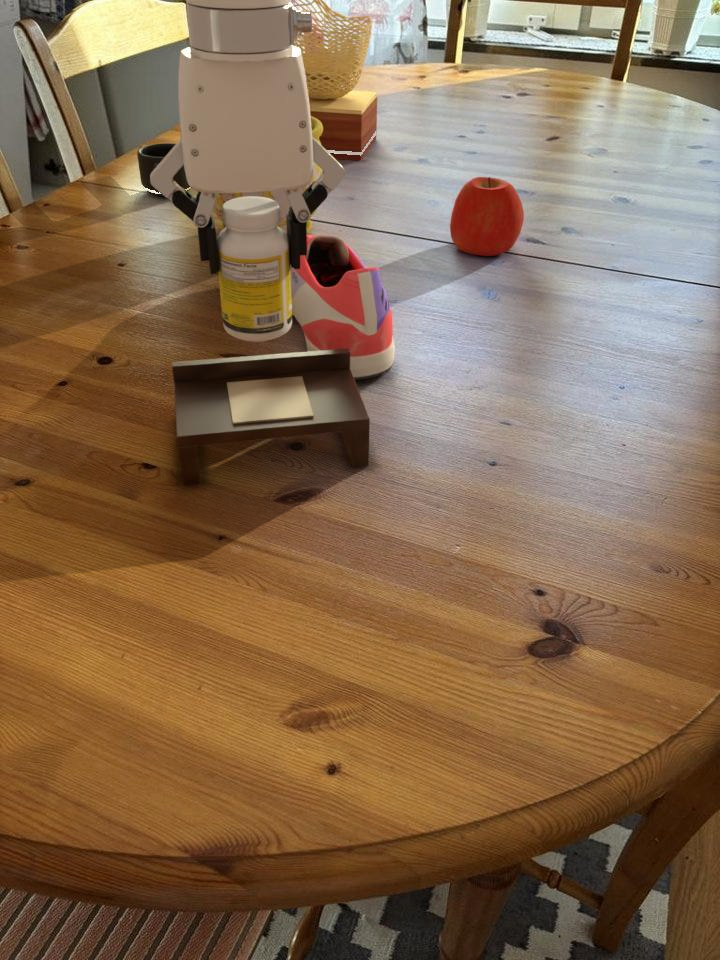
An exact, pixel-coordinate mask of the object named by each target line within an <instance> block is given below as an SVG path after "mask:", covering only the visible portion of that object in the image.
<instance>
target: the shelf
mask: <svg viewBox="0 0 720 960" xmlns="http://www.w3.org/2000/svg"><path fill="white" fill-rule="evenodd" d="M171 370H172V371H171V372H172V379H173V391H174V410H175V431H176V442H177V451H178V457H179V466H180V472H181V482H182V485H183V486H185V485H195V484H200V483H201V479H200V468H199V467H200V466H199V455H198V446H207V445H216V444H217V445H218V444H219V445H220V444H227V443H238V442H250V441H260V440H268V439H269V440H270V439H271V440H272V439H281V438H291V437H293V438H294V437H302V436H303V437H304V436H311V435H314V436H315V435H323V434H325V435H326V434H334V433H340V434H341V437H342V440H343V442H344V445H345V446H344V447H345V449H346V451H347V455H348V458H349V461H350V464H351V467H352V468H363V467H369V464H370V463H369V460H370V457H369V456H370V426H371V425H370V423H371V422H370V421H371V419H370V416H369V414H368V411H367V409H366V405H365V403H364V400H363V399H362V396H361V395H362V394H361V393H360V391H359V388H358V385H357V383H356V380H354V377H353V375H352V372H351V370H350V351H349V349H348V348H347V349H334V350H321V351H297V352H296V351H295V352H284V353H271V354H260V355H259V354H258V355H257V354H256V355H245V356H234V357H221V358H209V359H208V358H207V359H196V360H195V359H194V360H183V361H181V360H180V361H172V362H171Z"/></svg>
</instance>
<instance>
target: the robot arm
mask: <svg viewBox="0 0 720 960" xmlns="http://www.w3.org/2000/svg"><path fill="white" fill-rule="evenodd" d="M291 3H292V0H185V5H186V16H187V17H186V18H187V26H188V27H187V28H188V38H189V47H185V48H182V49H181V50H180V54H179V62H178V63H179V64H178V87H177V88H178V112H179V113H178V114H179V115H178V116H179V133H180V139H179V140H177V142H176V143H175V144H176V145H175V146H174V147H173V148H172V149H171V150H170V152H169V153H168V154H167V155H166V156H165V157H164V159H163V160H162V161H161V162H160V163H159V164H158V166H157V167H156V168H155V169H154V170H153V171H152V173H151V174H150V183H151V185H152V186H153V187H154V188H155V189H157V190H158V191H159V192H160V193H161V194H162V195H164V196H165V197H164V198H165V199H167V200H169V201H170V202H171V203H172V204H173V205H174V206H175V208H176V209H178V210H179V211H180V212H181V213H182V214H184V215H185V216H186V217H187V218H188V219H189V220H191V221H192V222H193V224H194V226H196V227H197V236H198V245H199V246H198V247H199V257H200V261H201V262H208V265H209V271H210V275H217V274H218V272H219V264H218V252H217V229H216V222H215V218H214V217H213V215H212V213H213V211H214V210H213V207H214V204H215V201H216V199H217V196H218V193H237V192H260V191H281V190H284V192H285V194H286V196H287V199H288V201H289V203H290V205H291V207H290V208H289V211H288V214H286V223H287V236H288V238H289V243H290V264H291V267H292V268H294V269H300V255H307V235H308V234H307V233H308V232H307V228H306V222H307V221H308V220H309V219H310V220H311V218H312V217H311V214H312V213H313V212H314V211H315V210H316V211H317V209H318V208H319V207H320V206H321V205H322V204H323V203H324V202H325V200H327V198H328V195H329V194H330V193H331V192H333V191H334V190H335V188H336V187H337V186H338V185H339V184H340V183H341V182H342V181H343V180H344V179H345V177H346V170H345V168H344V166H343V165H342V164H341V163H340V162H339V160H338V159H335V158H334V157H333V156H332V155H331V154H330V153H329V152H328V151H327V150H326V149H325V148H324V147H323V146H322V145H321V144H320V143H319V142H318V141H317V140H316V139H315V138H314V137H313V136H312V129H311V116H310V105H309V97H308V90H307V82H306V74H305V69H304V64H303V59H302V54H301V50H300V49H299V48H300V47H299V48H297V47H294V46H293V45H294V43H295V42H294V38H297V35H301V34H304V33H310V34H312V33H311V31H312V29H313V28H312V26H313V25H312V23H313V19H312V17H313V16H312V17H311V15H312V13H308V12H303V13H301V11H302V10H300V11H299V10H297V9H296V8H295V7H293V5H294V4H293V3H292V4H293V5H292V4H291ZM296 10H297V11H296ZM313 161H314V162H315V163H316V164H317V165H318V166H319V167H320V168H321V169H322V174H321V175H320V176H319V178H318V179H317V180H316V181H314V182H313V183H312V184H311V185H310V186H309V187H308V188H307V189H306V190H305V191H304V193H303V194H302V193H301V191H300V188H301V187H304V186H306V185H307V184H309V183H310V181H311V180H312V176H313ZM183 165H184V169H185V173H186V179H187V182H188V184H189V186H190V187H191V189H193V190H194V191H196V195H195V196H194V195H193V194H191V193H190V192H189V191H186V190H185V189H184V188H183V187H180V186H179V185H178V184H177V183H176V182H175V181H174V180H173V177H174V175H175V174H176V173H177V172H178V171H179V170H180V168H181V167H182V166H183ZM316 211H315V212H316ZM310 217H311V218H310Z"/></svg>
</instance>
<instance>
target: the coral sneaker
mask: <svg viewBox="0 0 720 960" xmlns="http://www.w3.org/2000/svg"><path fill="white" fill-rule="evenodd" d="M285 233H286V234H287V232H285ZM360 257H361V256H359V254H357V252H356V251H355V250H353V248H351V247H350V246H349V244H347V243H346V242H344V240H343V239H342V238H340V237H338V236H335V235H314V234H307V255H300V269H294V268H292V267H291V264H290V270H291V298H292V317H294V318H295V320H296V321H297V322H298V323H299V325H300V327H301V329H302V331H303V333H304V338H305V344H306V352H308V351H321V350H334V349H347V348H348V349H349V351H350V370H351V372H352V375H353V377H354V380H355V381H356V380H365V379H366V380H367V379H371V378H375V377H378V376H381V375H384V374H385V373H386V374H387V373H388V372H390V370H391V368H392V367H393V366H394V363H395V356H396V349H395V342H394V341H395V340H394V337H393V335H394V328H393V327H394V326H393V324H394V323H393V313H392V312H393V311H392V307H391V304H390V301H389V297H388V294H387V291H386V289H385V287H384V285H383V283H382V278H381V271H380V269H379V268H378V267H376V266H373V267H368V266H367V265H366V263H365V262H364V261H363V260H362V259H361V258H360Z"/></svg>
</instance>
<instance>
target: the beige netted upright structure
mask: <svg viewBox="0 0 720 960" xmlns="http://www.w3.org/2000/svg"><path fill="white" fill-rule="evenodd" d="M298 1H299V2H300V3H298V2H297V1H296V0H291V4H292V5H293V7H294V8H295V9H296V11H301V13H311V17H312V21H314V23H313V22H312V31H311V33H302V34H301V35H297V38H294V45H293V47H297V48H299V49H300V50H301V54H302V59H303V64H304V69H305V74H306V82H307V90H308V97H309V105H310V116H312V117H315V118H316V119H318V120H319V121H320V122H321V123H322V125H323V132H322V134H321V136H320V137H319V141H320V142H321V145H322V146H323V147H324V148H325V149H326V150H335V151H352V152H362V150H363V149H364V147H365V146H366V144H367V143H368V142H369V140H370V139H371V137H372V136H373V134H374V133H375V131H376V132H377V130H378V129H377V128H378V126H377V124H378V122H377V121H378V119H377V118H378V91H365V90H354V88H355V87H356V86H357V84H358V83H359V81H360V79H361V77H362V71H363V69H364V66H365V61H366V57H367V53H368V50H369V46H370V43H371V35H372V26H373V21H372V18H371V17H370V16H369V15H363V16H352V17H347V16H346V15H343V14H341V13H339V12H337V11H335V10H333V9H331V7H330V6H329V5H328V4H327V3H326V2H325V1H324V0H312V1H311V2H310V1H309V0H305V2H307V3H305V2H304V1H302V0H298ZM292 2H294V3H295V4H293V3H292ZM314 3H315V4H316V6H317V7H318V9H319V10H320V11H318V10H317V9H316V8H315V7H314V5H313V4H314ZM309 6H310V7H311V8H312V9H313V10H312V9H311V8H310V7H309ZM298 7H300V8H301V9H302V10H301V9H299V8H298ZM305 7H306V8H307V9H306V8H305ZM316 14H317V15H316ZM313 16H314V17H313ZM318 16H319V18H320V19H319V18H318ZM323 16H324V17H323ZM332 17H333V18H334V19H333V18H332ZM339 18H340V19H339ZM366 18H367V19H366ZM351 21H352V22H351ZM360 21H363V22H360ZM323 22H324V23H325V24H326V25H327V26H326V25H325V24H324V23H323ZM338 22H339V23H338ZM345 22H346V23H349V24H346V23H345ZM319 23H320V24H321V25H320V24H319ZM340 23H341V24H340ZM354 23H357V24H354ZM320 33H321V34H320ZM360 35H361V36H360ZM324 37H325V38H324ZM320 38H321V39H320ZM376 140H377V135H376V136H375V137H374V138H373V140H372V141H371V142H370V144H369V145H368V147H367V148H366V149H365V151H364V152H363V154H362V155H361V156H360V155H347V154H334V153H330V154H331V155H332V156H333V157H334V158H335V159H336V160H346V161H348V160H349V161H360V162H361V161H362V160H363V159H364V157H365V156H366V154H367V153H368V152H369V150H370V149H371V147H372V146H373V145H374V143H375V142H376ZM374 141H375V142H374Z"/></svg>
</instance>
